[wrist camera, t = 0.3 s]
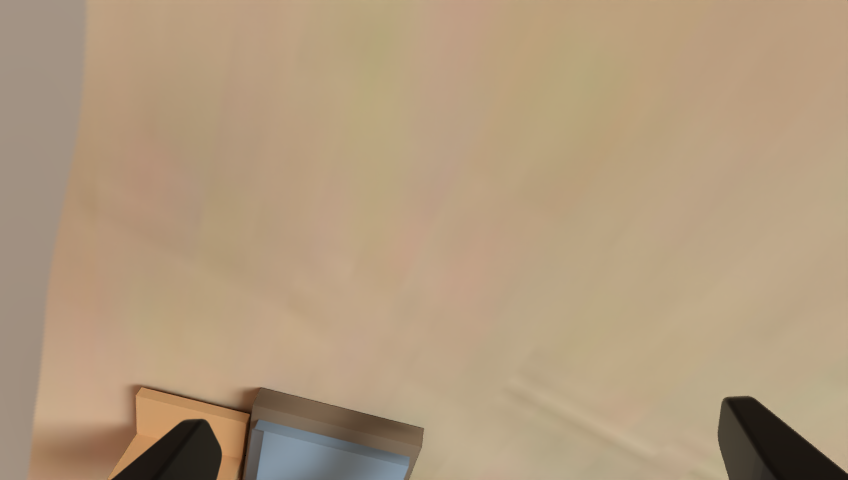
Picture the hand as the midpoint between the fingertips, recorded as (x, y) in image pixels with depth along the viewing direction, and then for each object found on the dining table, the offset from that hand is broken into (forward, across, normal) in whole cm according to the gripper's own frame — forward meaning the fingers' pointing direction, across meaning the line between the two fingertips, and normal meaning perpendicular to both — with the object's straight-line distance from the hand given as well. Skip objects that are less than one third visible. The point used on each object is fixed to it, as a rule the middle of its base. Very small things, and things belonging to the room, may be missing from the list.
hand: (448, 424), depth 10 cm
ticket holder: (+14, +11, +20) cm, 27 cm away
